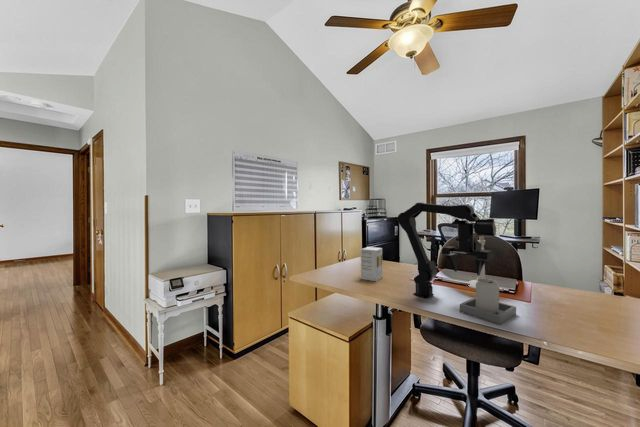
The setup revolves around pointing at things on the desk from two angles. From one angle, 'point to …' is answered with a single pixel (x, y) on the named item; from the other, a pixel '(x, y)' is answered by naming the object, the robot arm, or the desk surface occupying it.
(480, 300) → the can
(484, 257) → the robot arm
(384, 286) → the desk surface
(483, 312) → the well tray
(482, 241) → the candlestick
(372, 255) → the supplement box
